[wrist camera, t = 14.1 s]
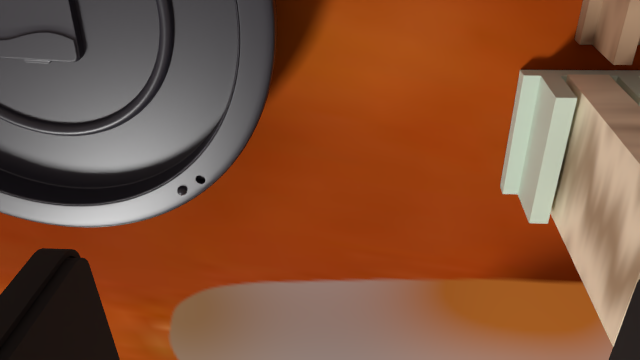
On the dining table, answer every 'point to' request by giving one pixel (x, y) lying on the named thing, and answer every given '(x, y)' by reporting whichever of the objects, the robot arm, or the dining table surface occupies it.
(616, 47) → the rack
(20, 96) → the round tray
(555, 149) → the slotted stand
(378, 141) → the dining table surface
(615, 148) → the birch board
